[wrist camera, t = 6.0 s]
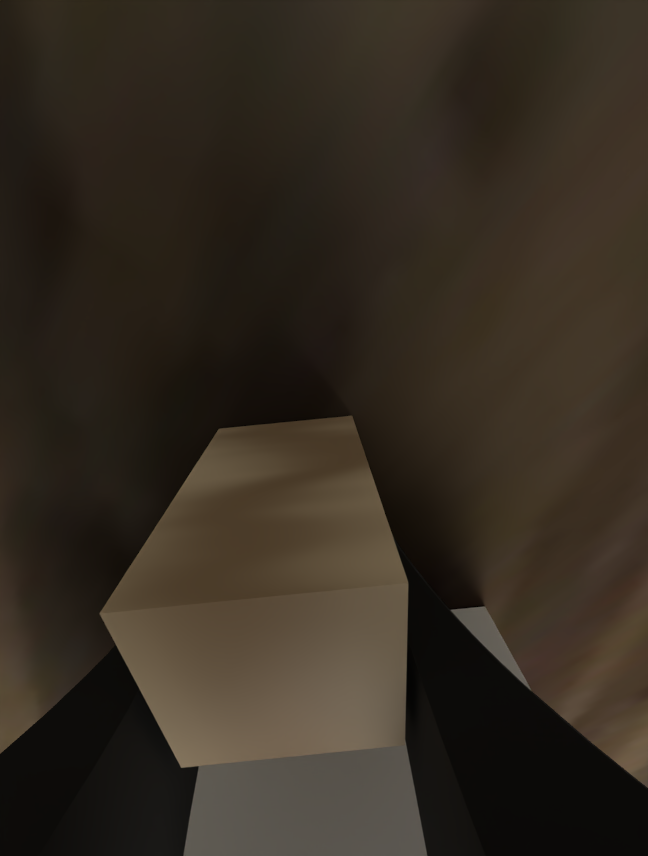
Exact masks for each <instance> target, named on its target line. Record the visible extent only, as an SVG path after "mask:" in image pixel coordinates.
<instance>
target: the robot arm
mask: <svg viewBox="0 0 648 856" xmlns="http://www.w3.org/2000/svg"><path fill="white" fill-rule="evenodd" d="M392 536H393V535H392ZM393 539H394V542H395V545H396V548H397V551H398V553H399V556H400V559H401V562H402V565H403V568H404V571H405V574H406V577H407V580H408V625H407V672H406V719H405V741H406V747H407V752H408V757H409V762H410V767H411V773H412V778H413V783H414V788H415V793H416V799H417V804H418V809H419V815H420V820H421V825H422V830H423V836H424V841H425V846H426V852H427V856H648V788H647V787H646V786H644V785H643V784H642V783H641V782H639V781H638V780H637V779H636V778H634V777H633V776H632V775H631V774H629V773H628V772H627V771H626V770H624V769H623V768H622V767H621V766H620V765H618V764H617V763H616V762H615V761H613V760H612V759H611V758H610V757H608V756H607V755H606V754H605V753H603V752H602V751H601V750H600V749H598V748H597V747H596V746H595V745H594V744H592V743H591V742H590V741H589V740H588V739H586V738H585V737H584V736H583V735H582V734H581V733H579V732H578V731H577V730H576V729H575V728H574V727H573V726H571V725H570V724H569V723H568V722H567V721H566V720H564V719H563V718H562V717H561V716H560V715H559V714H557V713H556V712H555V711H554V710H553V709H552V708H551V707H549V706H548V705H547V704H546V703H545V702H544V701H542V700H541V699H540V698H539V697H538V696H537V695H535V694H534V693H533V692H532V691H531V690H530V689H529V688H528V687H527V686H525V685H524V684H523V683H522V682H521V681H520V680H519V679H518V678H517V677H516V676H515V675H514V674H513V673H512V672H511V671H509V670H508V669H507V668H506V667H505V666H504V665H503V664H502V663H501V662H500V661H499V660H498V659H497V658H496V657H495V656H494V655H493V654H492V653H491V652H490V651H489V650H488V649H487V648H486V647H485V646H484V645H483V644H482V643H481V642H480V641H479V640H478V639H477V638H476V637H475V636H474V635H473V634H472V633H471V632H470V631H469V630H468V629H467V628H466V627H465V625H464V624H463V623H462V622H461V621H460V620H459V619H458V618H457V617H456V616H455V614H454V613H453V612H452V611H451V610H450V609H449V608H448V607H447V606H446V604H445V603H444V602H443V601H442V600H441V599H440V597H439V596H438V595H437V594H436V593H435V591H434V590H433V589H432V588H431V587H430V585H429V584H428V583H427V582H426V580H425V579H424V578H423V577H422V576H421V574H420V573H419V572H418V570H417V569H416V568H415V567H414V565H413V564H412V562H411V561H410V560H409V558H408V557H407V556H406V554H405V553H404V551H403V550H402V549H401V547H400V546H399V544H398V543H397V541H396V540H395V538H394V537H393ZM198 768H199V766H194V767H184V768H181V766H180V764H179V762H178V761H177V759H176V757H175V755H174V753H173V751H172V749H171V747H170V745H169V744H168V742H167V740H166V738H165V736H164V734H163V732H162V730H161V729H160V727H159V725H158V723H157V721H156V719H155V717H154V715H153V713H152V712H151V710H150V708H149V706H148V704H147V702H146V700H145V698H144V697H143V695H142V693H141V691H140V689H139V687H138V685H137V683H136V681H135V680H134V678H133V676H132V674H131V672H130V670H129V668H128V666H127V665H126V663H125V661H124V659H123V657H122V655H121V653H120V651H119V649H118V648H117V646H116V645H115V646H114V648H113V649H112V650H111V651H110V652H109V653H108V654H107V655H106V656H105V657H104V658H103V659H102V660H101V661H100V662H99V663H98V664H97V665H96V666H95V667H94V668H93V669H92V670H91V671H90V672H89V673H88V674H87V675H86V676H85V677H84V678H83V679H82V680H81V681H80V682H79V683H78V684H77V685H76V686H75V687H74V688H73V689H72V690H71V691H70V692H69V693H67V694H66V695H65V696H64V697H63V698H62V699H61V700H60V701H59V702H58V703H57V704H56V705H55V706H54V707H53V708H52V709H51V710H49V711H48V712H47V713H46V714H45V715H44V716H43V717H42V718H41V719H39V720H38V721H37V722H36V723H35V724H34V725H33V726H32V727H30V728H29V729H28V730H27V731H26V732H25V733H24V734H22V735H21V736H20V737H19V738H18V739H17V740H16V741H14V742H13V743H12V744H11V745H10V746H9V747H8V748H7V749H5V750H4V751H3V752H2V753H1V754H0V856H183V855H184V849H185V843H186V837H187V831H188V825H189V818H190V813H191V807H192V802H193V796H194V790H195V785H196V779H197V774H198Z"/></svg>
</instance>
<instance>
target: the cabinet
mask: <svg viewBox="0 0 648 856" xmlns="http://www.w3.org/2000/svg"><path fill="white" fill-rule="evenodd" d="M451 611H452V612H453V613H454V614H455V616H456V617H457V618H458V619H459V620H460V621H461V622H462V623H463V624H464V625H465V627H466V628H467V629H468V630H469V631H470V632H471V633H472V634H473V635H474V636H475V637H476V638H477V639H478V640H479V641H480V642H481V643H482V644H483V645H484V646H485V647H486V648H487V649H488V650H489V651H490V652H491V653H492V654H493V655H494V656H495V657H496V658H497V659H498V660H499V661H500V662H501V663H502V664H503V665H504V666H505V667H506V668H507V669H508V670H509V671H511V672H512V673H513V674H514V675H515V676H516V677H517V678H518V679H519V680H520V681H521V682H522V683H523V684H524V685H525V686H527V687H528V688H529V689H530V687H529V685H528V683H527V682H526V680H525V678H524V676H523V674H522V672H521V671H520V669H519V667H518V665H517V663H516V662H515V660H514V658H513V656H512V654H511V653H510V651H509V649H508V647H507V645H506V644H505V642H504V640H503V638H502V636H501V634H500V633H499V631H498V629H497V627H496V625H495V624H494V622H493V620H492V618H491V616H490V615H489V613H488V611H487V609H486V607H485V606H484V607H474V608H464V609H453V610H451ZM530 690H531V689H530ZM183 856H427V852H426V846H425V841H424V836H423V830H422V825H421V820H420V815H419V809H418V804H417V799H416V793H415V788H414V783H413V778H412V773H411V767H410V762H409V757H408V752H407V747H406V741H405V745H402V746H392V747H382V748H372V749H362V750H352V751H342V752H333V753H323V754H313V755H303V756H293V757H283V758H273V759H263V760H253V761H243V762H233V763H224V764H214V765H204V766H199V768H198V774H197V779H196V785H195V790H194V796H193V802H192V807H191V813H190V818H189V825H188V831H187V837H186V843H185V849H184V855H183Z"/></svg>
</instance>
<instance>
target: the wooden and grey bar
mask: <svg viewBox="0 0 648 856" xmlns="http://www.w3.org/2000/svg"><path fill="white" fill-rule="evenodd" d="M100 616H101V617H102V619H103V621H104V623H105V625H106V627H107V629H108V631H109V632H110V634H111V636H112V638H113V640H114V642H115V644H116V646H117V648H118V649H119V651H120V653H121V655H122V657H123V659H124V661H125V663H126V665H127V666H128V668H129V670H130V672H131V674H132V676H133V678H134V680H135V681H136V683H137V685H138V687H139V689H140V691H141V693H142V695H143V697H144V698H145V700H146V702H147V704H148V706H149V708H150V710H151V712H152V713H153V715H154V717H155V719H156V721H157V723H158V725H159V727H160V729H161V730H162V732H163V734H164V736H165V738H166V740H167V742H168V744H169V745H170V747H171V749H172V751H173V753H174V755H175V757H176V759H177V761H178V762H179V764H180V766H181V768H184V767H194V766H204V765H214V764H224V763H233V762H243V761H253V760H263V759H273V758H283V757H293V756H303V755H313V754H323V753H333V752H342V751H352V750H362V749H372V748H382V747H392V746H402V745H405V719H406V672H407V625H408V580H407V577H406V574H405V571H404V568H403V565H402V562H401V559H400V556H399V553H398V551H397V548H396V545H395V542H394V539H393V536H392V533H391V530H390V527H389V524H388V521H387V518H386V515H385V512H384V509H383V506H382V503H381V500H380V497H379V494H378V491H377V488H376V485H375V482H374V479H373V476H372V473H371V470H370V467H369V464H368V461H367V458H366V455H365V452H364V450H363V447H362V444H361V441H360V438H359V435H358V432H357V429H356V426H355V423H354V420H353V417H352V416H344V417H333V418H323V419H313V420H303V421H292V422H282V423H272V424H262V425H252V426H241V427H231V428H221V429H219V430H218V431H217V433H216V434H215V436H214V437H213V439H212V440H211V442H210V443H209V445H208V447H207V448H206V450H205V451H204V453H203V454H202V456H201V457H200V459H199V460H198V462H197V464H196V465H195V467H194V468H193V470H192V471H191V473H190V474H189V476H188V477H187V479H186V481H185V482H184V484H183V485H182V487H181V488H180V490H179V491H178V493H177V494H176V496H175V498H174V499H173V501H172V502H171V504H170V505H169V507H168V508H167V510H166V511H165V513H164V515H163V516H162V518H161V519H160V521H159V522H158V524H157V525H156V527H155V528H154V530H153V532H152V533H151V535H150V536H149V538H148V539H147V541H146V542H145V544H144V545H143V547H142V549H141V550H140V552H139V553H138V555H137V556H136V558H135V559H134V561H133V562H132V564H131V566H130V567H129V569H128V570H127V572H126V573H125V575H124V576H123V578H122V580H121V581H120V583H119V584H118V586H117V587H116V589H115V590H114V592H113V593H112V595H111V597H110V598H109V600H108V601H107V603H106V604H105V606H104V607H103V609H102V610H101V612H100Z"/></svg>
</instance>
